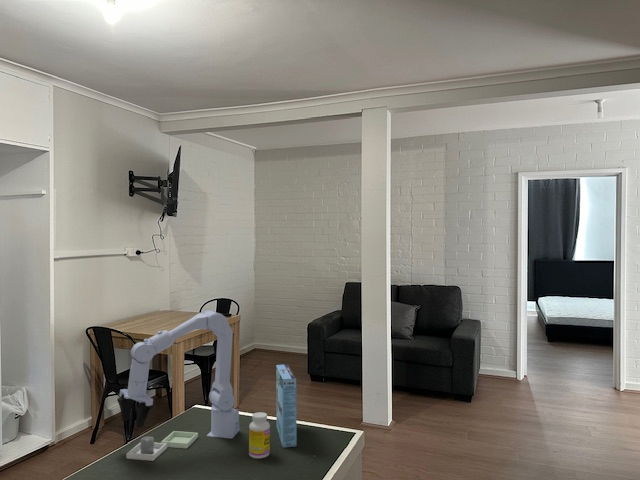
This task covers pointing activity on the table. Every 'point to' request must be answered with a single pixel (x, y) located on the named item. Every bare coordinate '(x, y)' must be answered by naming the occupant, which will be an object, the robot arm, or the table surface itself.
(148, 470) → the table surface
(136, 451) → the grey tray
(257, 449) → the supplement bottle
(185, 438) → the sage tray
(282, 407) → the light blue carton
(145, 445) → the grey cylinder
